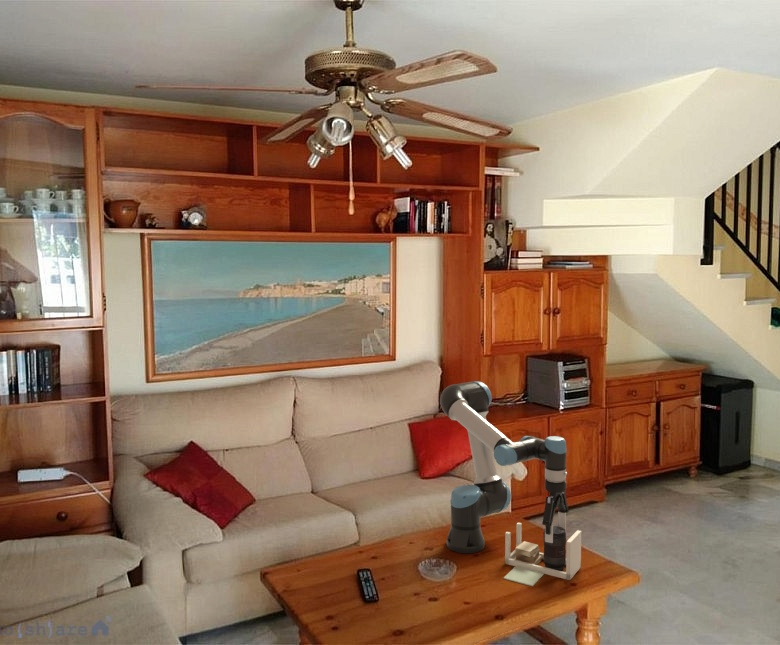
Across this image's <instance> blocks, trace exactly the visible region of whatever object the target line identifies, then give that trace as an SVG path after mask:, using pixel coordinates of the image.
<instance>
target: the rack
mask: <svg viewBox="0 0 780 645" xmlns="http://www.w3.org/2000/svg"><path fill="white" fill-rule="evenodd" d="M522 524H523V523H522V522H517V523H516V527H515V528H516V532H515V534H516V538H515V539H516V540H515V542H516V544H515V546H516V547H517V546H518V545H520V544H521V543H522V542H523V541H522V532H523V531H522V526H523V525H522ZM511 536H512V532H510V531H506V532H505V536H504V537H505V539H504V540H505V541H504V542H505V545H504V546H505V547H504V548H505V549H504V551H505V552H504V554H505V555H504V559H505V561H504V562H505V563H504V564H506V565H509V566H513V567H515V566H518V567H522V568H526V569H530V570H534V571H537V572H541V573H544V575H548V576H552V577H555V578H559V579H560V578H561V579H563V580H568V581H571V580H572V579H573V577H574V576H575V575H576V573H577V572H579V570H580V569H581V568H582V567H581V566H582V530H579V529H577V530H576V531H575V532H574V533H573V534H572V535H571V536H570V537H569V538H568V539H567V540H566V545H565V550H566V553H565V555H566V560H565V571H558V570H554V569H550V568H546V567H545V566H541V565H538V564H537V565H534V564H530V563H526V562H522V561H518V560H514V558H515V557H516V553H515V549H514V550H513V551H512V552H511V550H512V549H511V548H512V546H511V545H512V541H511V540H512V538H511ZM516 547H515V548H516ZM539 555H540V556H542V560H544V552H540V551H539Z"/></svg>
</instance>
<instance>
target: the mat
mask: <svg viewBox="0 0 780 645" xmlns="http://www.w3.org/2000/svg"><path fill="white" fill-rule="evenodd" d="M544 575H545V574H544V573H541V572H537V571H534V570H530V569H526V568H522V567H518V566H513V568H512V569H511V570H510V571H509V572H508V573H506V575H505V576H504V577H503V580H507V581H510V582H511V581H512V582H515V583H519V584H521V585H525V586H526V585H527V586H529V587H534V586H535V585H536V584H537V582H538V581H539V580H540V579H541V578H542V577H543V576H544Z"/></svg>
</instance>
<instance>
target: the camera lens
mask: <svg viewBox="0 0 780 645" xmlns="http://www.w3.org/2000/svg"><path fill="white" fill-rule="evenodd" d="M543 529H544V530H543V553H544V559H543V564H544V567H546V568H550V569H554V570H558V571H562V572H564V568H565V567H566V565H565V560H566V543H567V533H566V530H565V529H564V528H562V527H558V525H553V543H549V542H545V528H543Z"/></svg>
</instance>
